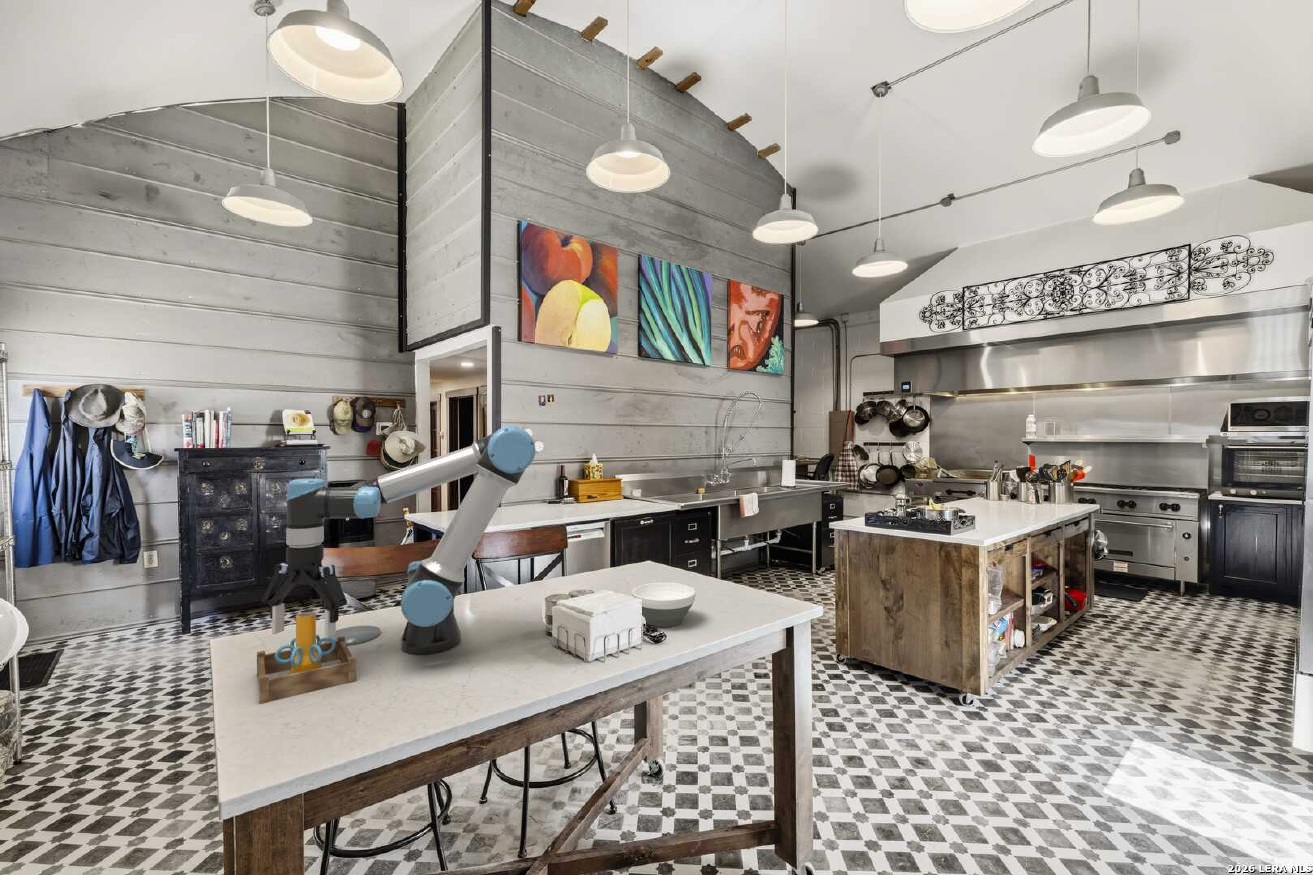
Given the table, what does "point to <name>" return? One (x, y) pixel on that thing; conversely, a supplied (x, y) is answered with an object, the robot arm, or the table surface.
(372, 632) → the trivet
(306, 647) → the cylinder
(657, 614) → the bowl
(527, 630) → the table surface
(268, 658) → the crate
